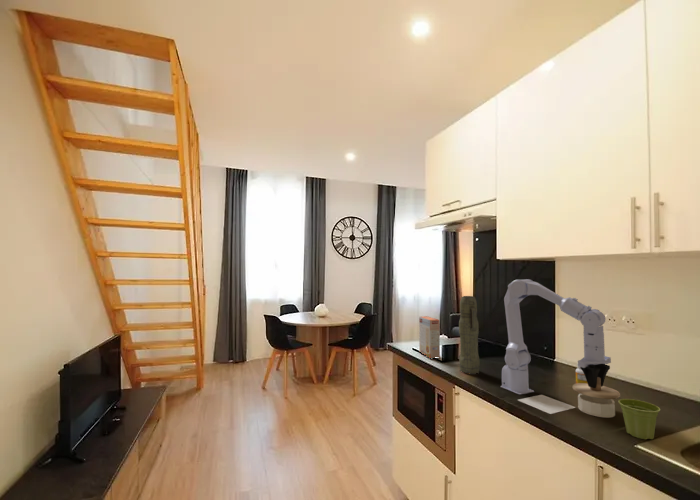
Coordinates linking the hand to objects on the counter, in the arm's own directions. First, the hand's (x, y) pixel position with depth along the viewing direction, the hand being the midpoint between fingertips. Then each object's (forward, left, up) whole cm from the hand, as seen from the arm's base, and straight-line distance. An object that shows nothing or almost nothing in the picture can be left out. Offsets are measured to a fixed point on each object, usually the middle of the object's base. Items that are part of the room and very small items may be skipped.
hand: (595, 386), depth 116 cm
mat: (-11, -10, -8) cm, 17 cm away
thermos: (-52, -7, -9) cm, 53 cm away
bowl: (0, 0, -8) cm, 8 cm away
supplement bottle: (-16, +19, -9) cm, 26 cm away
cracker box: (-82, -7, -9) cm, 83 cm away
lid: (0, 0, -2) cm, 2 cm away
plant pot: (+15, -5, -9) cm, 18 cm away
